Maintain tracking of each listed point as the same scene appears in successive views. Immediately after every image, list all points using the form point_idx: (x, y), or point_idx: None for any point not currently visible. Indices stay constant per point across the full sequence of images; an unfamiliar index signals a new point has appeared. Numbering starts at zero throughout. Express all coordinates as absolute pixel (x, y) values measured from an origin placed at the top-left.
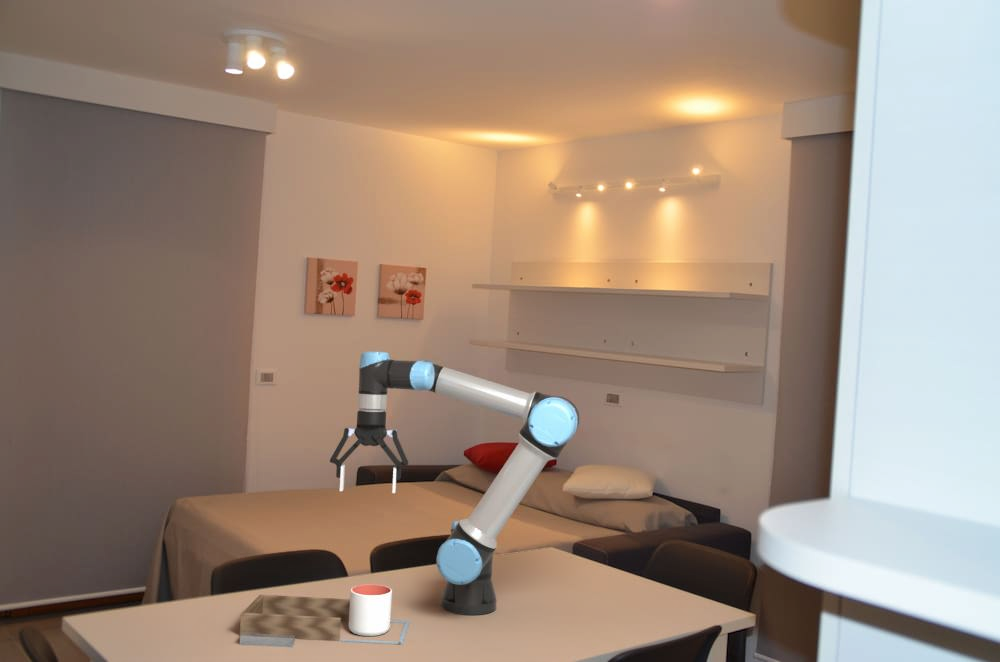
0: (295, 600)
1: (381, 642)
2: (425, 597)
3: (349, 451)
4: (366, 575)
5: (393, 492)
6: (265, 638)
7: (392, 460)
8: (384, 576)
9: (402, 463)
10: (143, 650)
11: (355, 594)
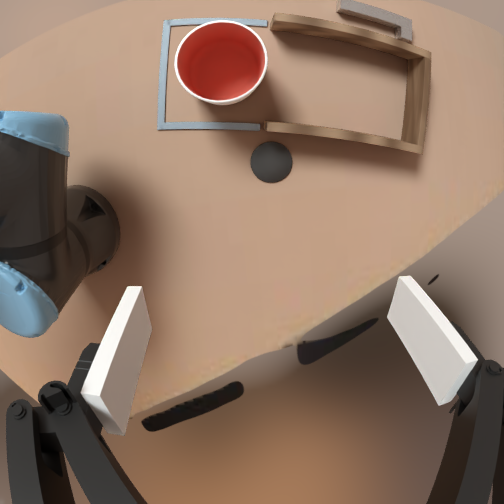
0: (367, 134)
1: (198, 18)
2: (150, 266)
3: (486, 455)
4: (257, 353)
5: (134, 287)
6: (378, 8)
7: (97, 450)
8: (230, 353)
9: (44, 423)
10: (482, 31)
11: (253, 31)
